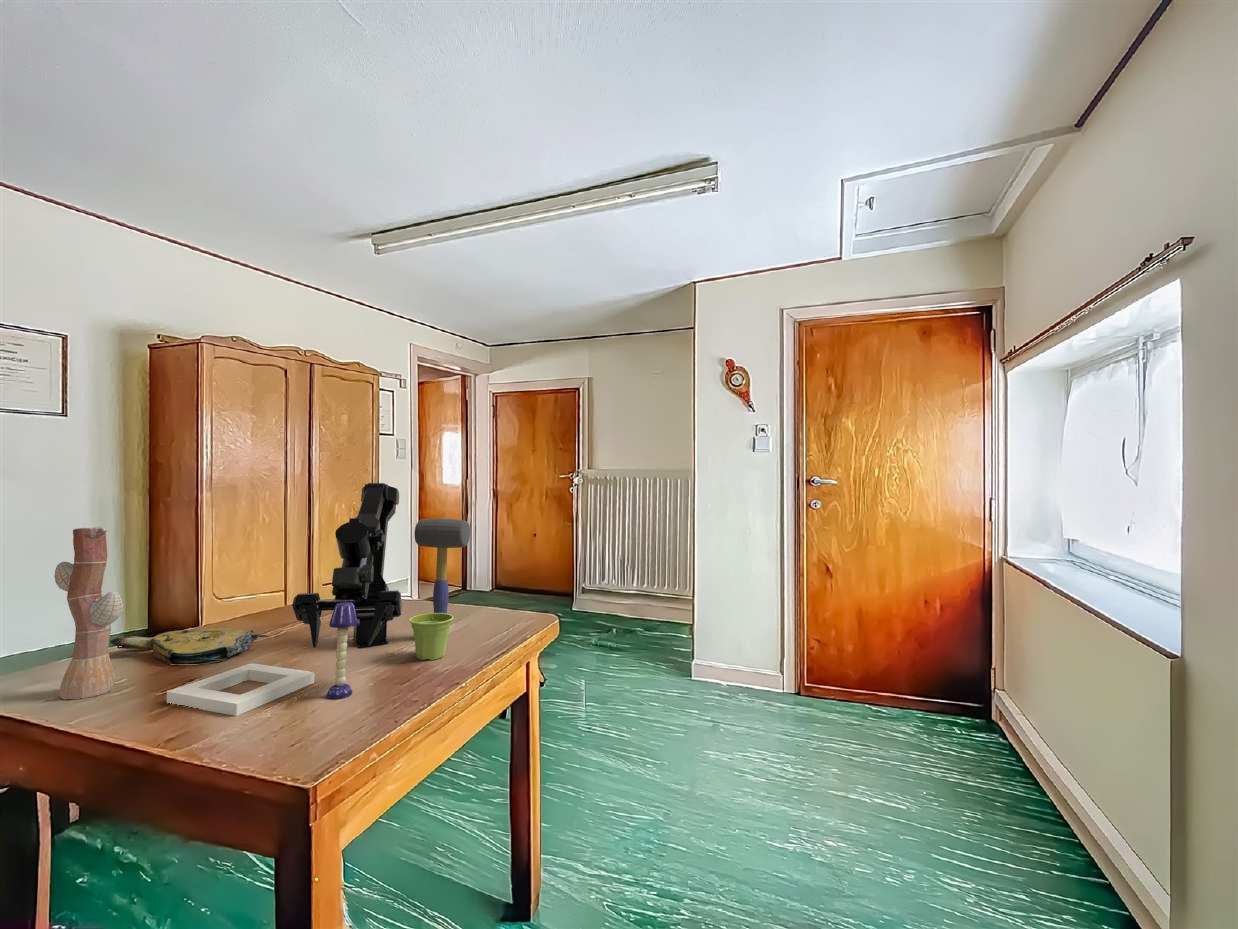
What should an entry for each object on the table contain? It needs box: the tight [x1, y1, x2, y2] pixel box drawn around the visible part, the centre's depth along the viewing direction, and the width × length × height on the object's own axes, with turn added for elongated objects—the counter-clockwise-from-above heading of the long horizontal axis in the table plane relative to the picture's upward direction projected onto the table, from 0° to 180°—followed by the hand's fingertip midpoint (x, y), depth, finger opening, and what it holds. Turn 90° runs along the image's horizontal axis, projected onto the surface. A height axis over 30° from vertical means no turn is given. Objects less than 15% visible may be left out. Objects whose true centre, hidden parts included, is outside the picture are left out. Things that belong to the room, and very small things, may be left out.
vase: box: [53, 526, 124, 700], centre depth 101 cm, size 10×7×30 cm
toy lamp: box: [326, 602, 357, 700], centre depth 102 cm, size 5×5×17 cm
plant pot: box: [408, 612, 454, 661], centre depth 125 cm, size 9×9×9 cm
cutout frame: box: [166, 662, 315, 717], centre depth 102 cm, size 16×16×2 cm
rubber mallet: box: [414, 518, 471, 614], centre depth 140 cm, size 12×8×30 cm, turn 85°
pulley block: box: [109, 627, 269, 665], centre depth 122 cm, size 14×6×30 cm
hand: (341, 645), depth 102 cm, fingers open, 9 cm apart
